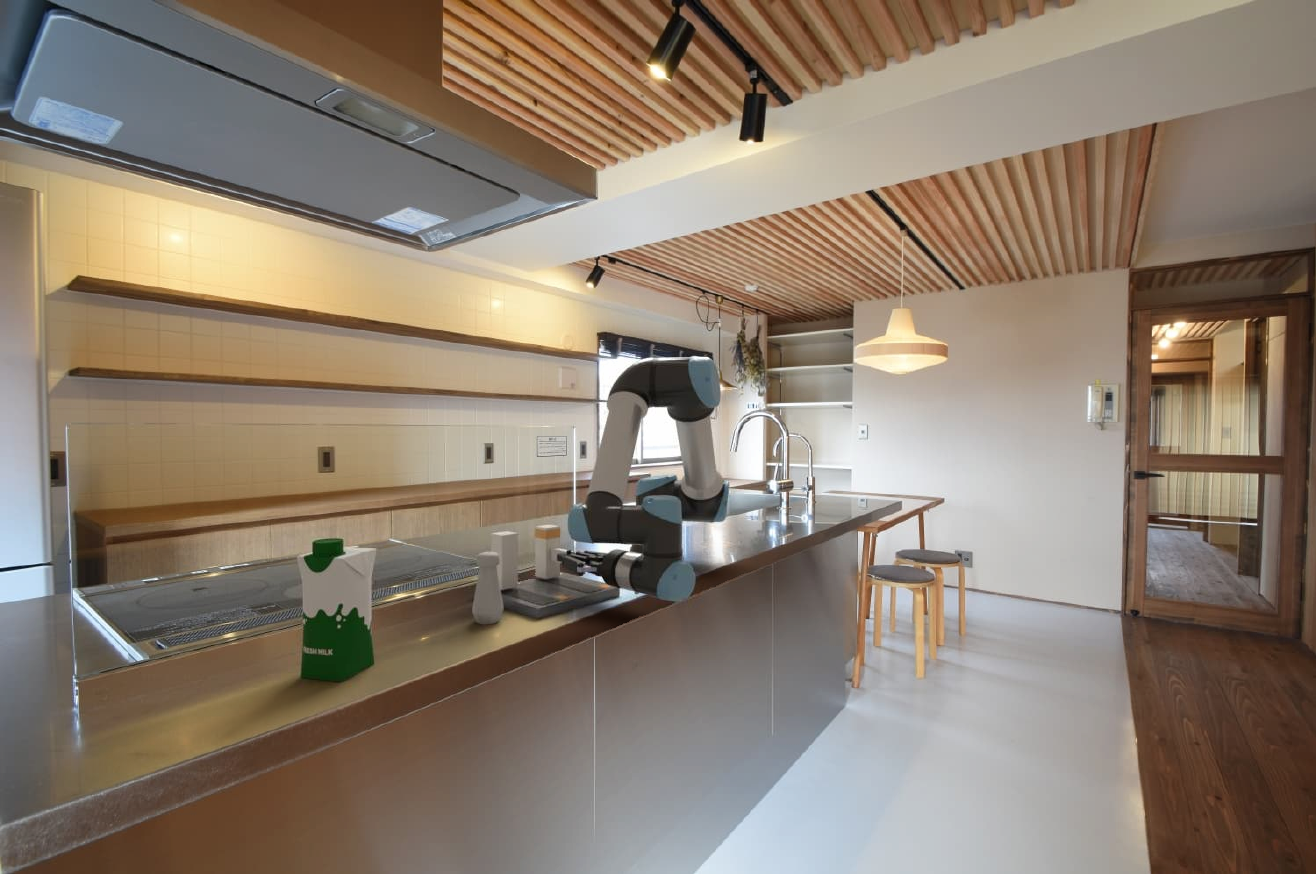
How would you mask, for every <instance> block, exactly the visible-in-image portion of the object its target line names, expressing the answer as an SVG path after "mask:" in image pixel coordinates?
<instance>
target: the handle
mask: <svg viewBox="0 0 1316 874" xmlns="http://www.w3.org/2000/svg"><path fill="white" fill-rule="evenodd" d="M534 539H535V543H534V544H535V546H534V548H535V549H534V550H535V554H534V555H535V556H534V557H535V559H534V562H535V563H534V564H535V569H534V573H535V574H534V576H536V577H540V578H544V579H549V578H553V577H558V576H560V572H561V563H560V562H556V561H551V548H560V549H561V526H560V525H555V524H544V525H543V524H542V525H537V526H536V525H535V527H534ZM535 571H536V572H535Z"/></svg>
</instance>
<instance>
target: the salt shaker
mask: <svg viewBox="0 0 1316 874" xmlns="http://www.w3.org/2000/svg"><path fill="white" fill-rule="evenodd" d="M499 562H500V557H499V554H498V553H496V552H491V551H483V552H481V553H478V554H477V555H476V566H477V567H479V569H478V574H477V580H476V586H475V590H474V596H473V602H472V608H471V613H472V616H473V617H474V620H475V622H476V624H479V625H483V626H484V625H493V624H496V623H498V622H500V620H501V617H502V614H503V613H504V607H503V601H502V596H501V590H500V585H499V579H498V573H497V567H496V566H497V565H498V564H499Z"/></svg>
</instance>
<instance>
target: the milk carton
mask: <svg viewBox="0 0 1316 874" xmlns="http://www.w3.org/2000/svg"><path fill="white" fill-rule="evenodd" d="M311 545H312V550H311V552H307V553H303V554H300V555H297V556H296V561H297V564H298V568H299V569H298V570H299V574H300V577H301V585H302V647H301V648H302V650H301V664H300V667H301V668H300V679H311V680H319V681H330V682H338V683H339V682H341V683H342V682H344V681H346V680H347V679H349V678H351V677H353V676H355V675H356V674H358V673H360V672H362V671H363V670H366V669H367V668H369V667H371V666H372V665H374V664H375V656H374V655H375V654H374V648H373V647H374V646H373V637H372V636H373V634H372V578H373V577H372V575H373V570H374V566H375V565H374V564H375V561H376V555H377V549H378V548H373V547H372V548H370V547H355V546H354V547H351V546H350V547H349V546H344V539H343V538H337V537H334V538H331V537H330V538H320V539H317V540H313V541H312V544H311Z"/></svg>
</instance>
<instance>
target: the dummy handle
mask: <svg viewBox="0 0 1316 874" xmlns="http://www.w3.org/2000/svg"><path fill="white" fill-rule="evenodd" d="M490 537H491V538H490V540H491V541H490V542H491V544H490V545H491V546H490V548H491V549H490V552H496V553H498V554H499V557H500V562H499V564H498V565H497V566H496V567H497V573H498V579H499V585H500V590H504V589H509V588H513V587H517V586H518V579H519V533H518V532H513V531H510V530H506V531H504V530H503V531H499V532H492V533H491V536H490Z"/></svg>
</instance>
